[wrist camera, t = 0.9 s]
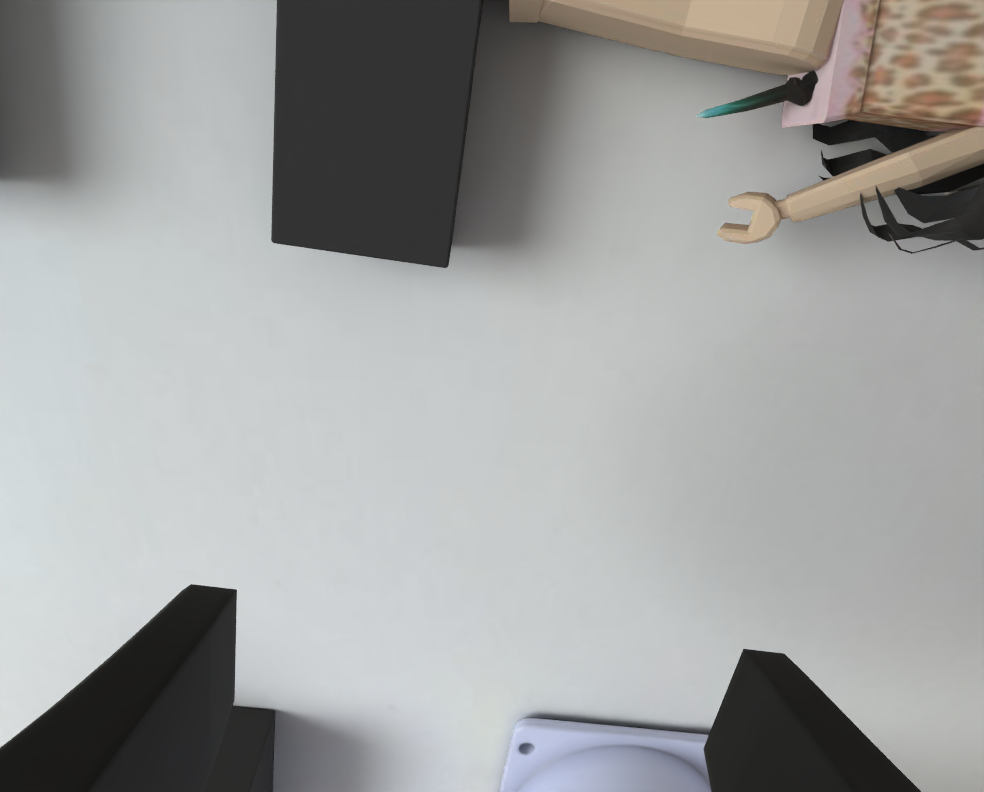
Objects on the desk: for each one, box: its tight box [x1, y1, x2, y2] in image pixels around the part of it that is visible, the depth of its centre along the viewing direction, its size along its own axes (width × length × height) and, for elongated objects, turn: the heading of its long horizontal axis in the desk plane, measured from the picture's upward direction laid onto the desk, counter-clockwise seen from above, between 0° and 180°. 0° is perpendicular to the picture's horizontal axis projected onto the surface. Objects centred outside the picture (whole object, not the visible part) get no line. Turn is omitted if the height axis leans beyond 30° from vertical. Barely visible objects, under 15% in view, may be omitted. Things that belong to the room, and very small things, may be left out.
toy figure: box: [509, 0, 984, 253], centre depth 13 cm, size 7×6×15 cm
